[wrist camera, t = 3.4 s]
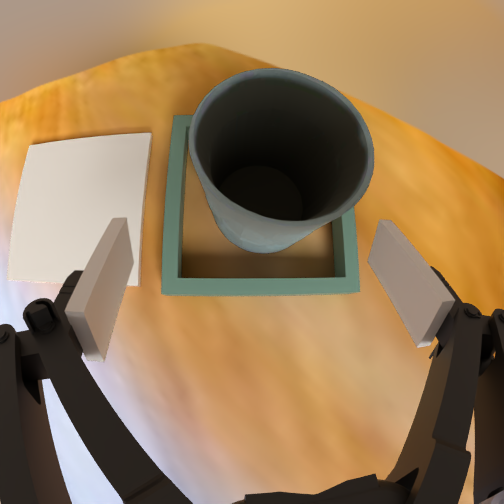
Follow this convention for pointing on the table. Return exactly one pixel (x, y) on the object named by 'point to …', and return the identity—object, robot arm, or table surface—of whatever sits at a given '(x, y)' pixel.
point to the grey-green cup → (278, 156)
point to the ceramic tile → (77, 204)
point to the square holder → (178, 286)
